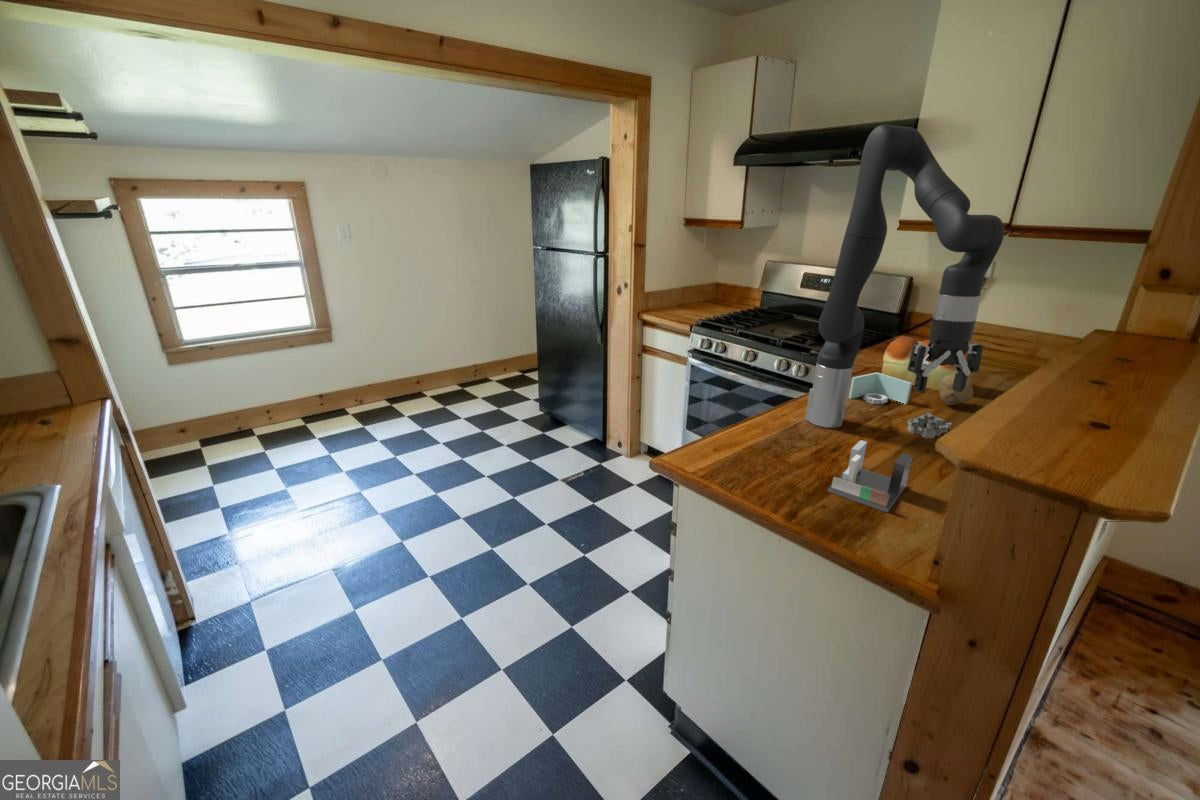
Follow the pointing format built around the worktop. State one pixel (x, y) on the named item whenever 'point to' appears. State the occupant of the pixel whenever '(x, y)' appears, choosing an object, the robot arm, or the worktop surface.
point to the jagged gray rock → (928, 425)
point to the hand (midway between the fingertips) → (938, 391)
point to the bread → (900, 357)
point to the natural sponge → (953, 396)
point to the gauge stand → (875, 485)
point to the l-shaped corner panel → (880, 388)
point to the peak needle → (853, 468)
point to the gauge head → (858, 450)
